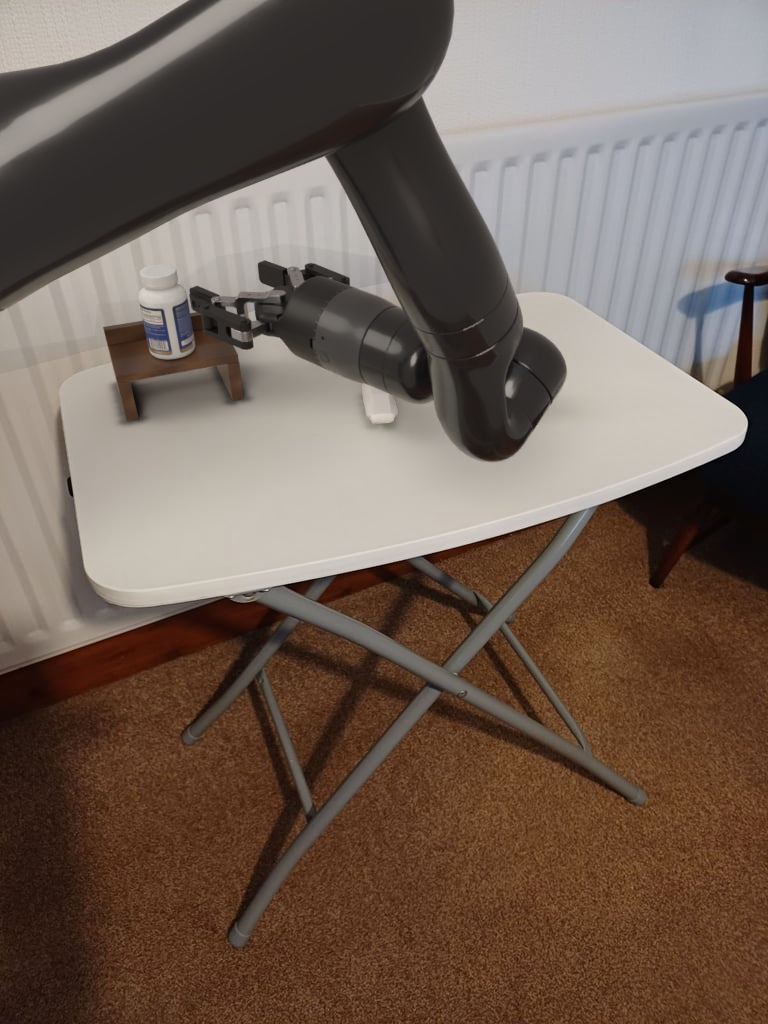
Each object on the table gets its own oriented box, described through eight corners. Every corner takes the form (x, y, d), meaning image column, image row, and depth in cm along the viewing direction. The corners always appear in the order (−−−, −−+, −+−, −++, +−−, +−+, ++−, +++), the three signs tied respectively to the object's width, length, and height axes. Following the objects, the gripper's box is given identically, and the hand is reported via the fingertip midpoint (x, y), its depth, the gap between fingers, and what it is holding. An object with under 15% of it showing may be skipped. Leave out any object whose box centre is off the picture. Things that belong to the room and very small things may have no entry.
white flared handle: (358, 442, 88) (357, 412, 86) (351, 365, 102) (350, 337, 100) (407, 440, 88) (407, 410, 86) (393, 364, 102) (393, 336, 100)
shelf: (126, 421, 92) (111, 360, 87) (117, 386, 98) (102, 326, 93) (244, 398, 96) (236, 338, 91) (227, 365, 102) (219, 308, 97)
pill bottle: (189, 336, 96) (175, 258, 89) (201, 355, 92) (188, 274, 86) (145, 345, 94) (128, 266, 88) (155, 364, 90) (138, 283, 84)
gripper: (400, 266, 71) (278, 226, 79) (284, 318, 62) (161, 266, 71) (399, 342, 75) (284, 297, 84) (291, 400, 67) (175, 343, 75)
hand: (228, 283), depth 77 cm, fingers open, 8 cm apart
